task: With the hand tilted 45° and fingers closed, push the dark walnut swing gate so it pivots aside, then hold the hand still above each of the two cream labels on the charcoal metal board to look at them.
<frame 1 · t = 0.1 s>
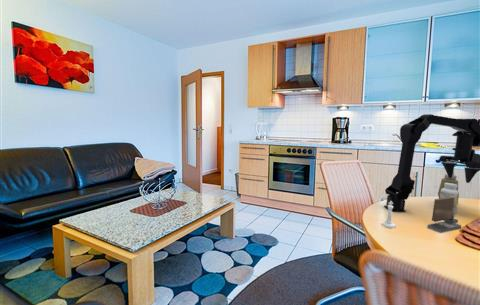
hand: (458, 180, 115), 15 cm above the table, tool pointing down, fingers open, 9 cm apart
supplement bottle: (447, 210, 117), on the table
squeeze bottle: (446, 202, 129), on the table
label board: (444, 228, 98), on the table
chess piece: (388, 226, 99), on the table
walnut gate: (444, 208, 102), point 6 cm above the table, hinge at 0.0°
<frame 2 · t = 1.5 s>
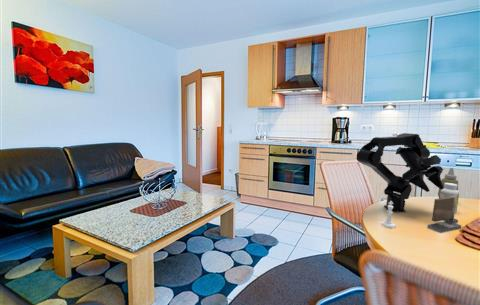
hand: (435, 190, 105), 13 cm above the table, tool tilted 45°, fingers open, 9 cm apart
nothing on the table moved.
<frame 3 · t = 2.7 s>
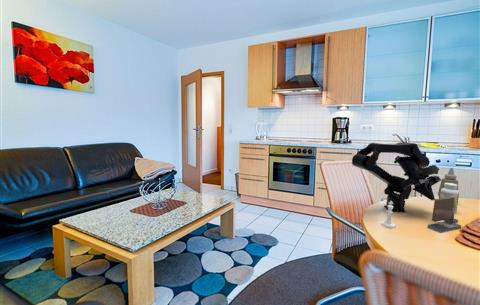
hand: (433, 200, 105), 9 cm above the table, tool tilted 45°, fingers closed
nothing on the table moved.
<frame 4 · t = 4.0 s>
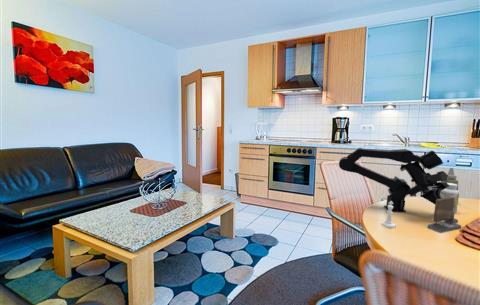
hand: (442, 207, 102), 7 cm above the table, tool tilted 45°, fingers closed, pressing on walnut gate
walnut gate: (445, 208, 101), point 6 cm above the table, hinge at 2.6°, touching gripper
everything else where it was.
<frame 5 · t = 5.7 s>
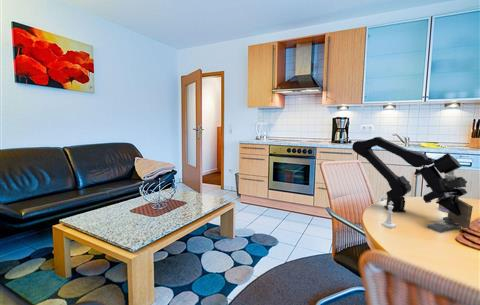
hand: (459, 215, 96), 6 cm above the table, tool tilted 45°, fingers closed
walnut gate: (459, 211, 99), point 6 cm above the table, hinge at 54.5°, touching gripper
everything else where it was.
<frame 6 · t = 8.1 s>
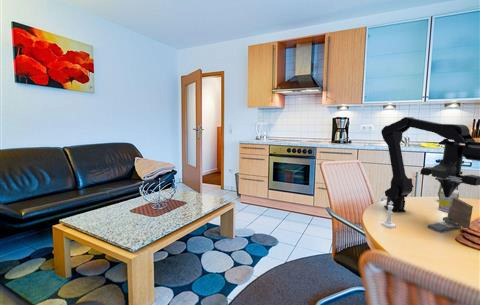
hand: (446, 197, 97), 12 cm above the table, tool pointing down, fingers closed
walnut gate: (459, 211, 99), point 6 cm above the table, hinge at 54.6°
everything else where it was.
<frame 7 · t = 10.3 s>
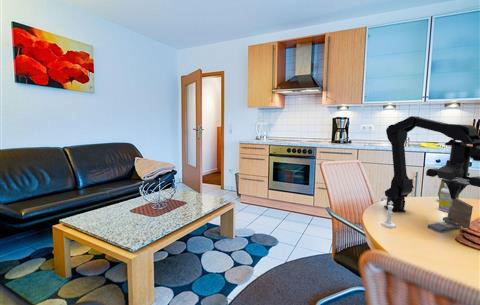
hand: (453, 199, 95), 12 cm above the table, tool pointing down, fingers closed
nothing on the table moved.
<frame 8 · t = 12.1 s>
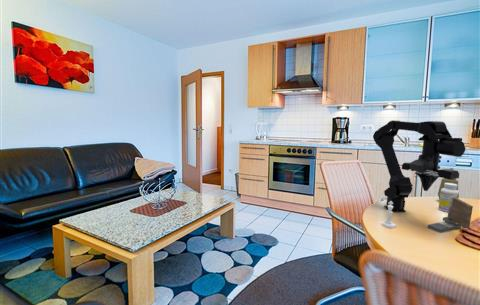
hand: (425, 190, 102), 13 cm above the table, tool pointing down, fingers closed
nothing on the table moved.
at the end: walnut gate at +55° (first picture: +0°) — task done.
